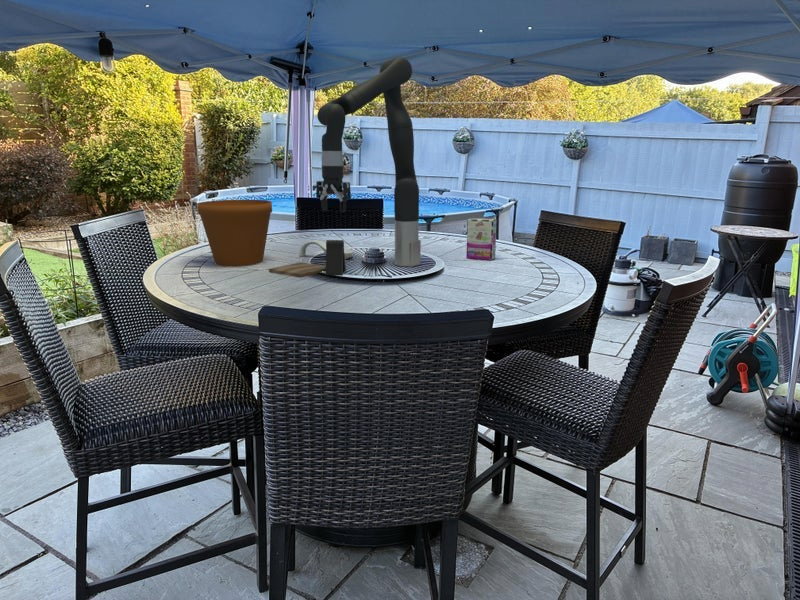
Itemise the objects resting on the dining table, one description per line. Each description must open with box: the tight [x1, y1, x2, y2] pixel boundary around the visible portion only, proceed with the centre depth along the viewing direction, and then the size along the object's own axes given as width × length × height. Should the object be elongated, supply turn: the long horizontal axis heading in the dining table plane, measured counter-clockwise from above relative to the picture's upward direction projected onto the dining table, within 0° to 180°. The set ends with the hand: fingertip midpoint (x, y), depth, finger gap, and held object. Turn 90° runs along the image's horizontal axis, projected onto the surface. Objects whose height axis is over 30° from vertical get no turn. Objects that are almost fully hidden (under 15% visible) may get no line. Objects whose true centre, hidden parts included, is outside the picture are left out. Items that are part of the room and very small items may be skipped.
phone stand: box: [325, 239, 347, 276], centre depth 208 cm, size 9×6×12 cm, turn 175°
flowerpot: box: [196, 199, 273, 267], centre depth 227 cm, size 28×28×24 cm
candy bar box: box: [466, 218, 497, 262], centre depth 235 cm, size 11×5×16 cm, turn 62°
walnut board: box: [268, 261, 326, 278], centre depth 213 cm, size 16×16×1 cm
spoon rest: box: [298, 239, 355, 259], centre depth 238 cm, size 24×12×7 cm, turn 74°
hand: (333, 211), depth 204 cm, fingers open, 8 cm apart
